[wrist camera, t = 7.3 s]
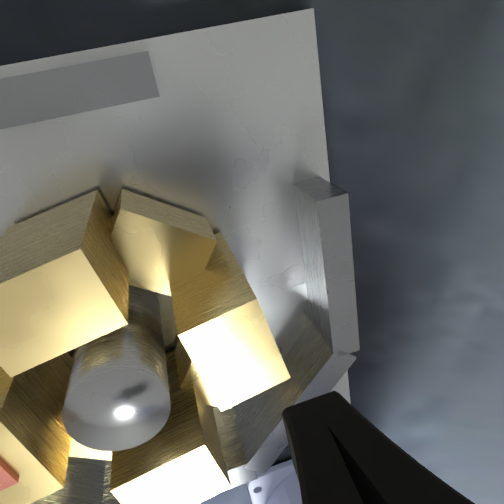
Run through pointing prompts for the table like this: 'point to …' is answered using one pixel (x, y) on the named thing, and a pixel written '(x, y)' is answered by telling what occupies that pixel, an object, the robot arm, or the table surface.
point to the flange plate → (200, 203)
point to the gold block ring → (114, 317)
